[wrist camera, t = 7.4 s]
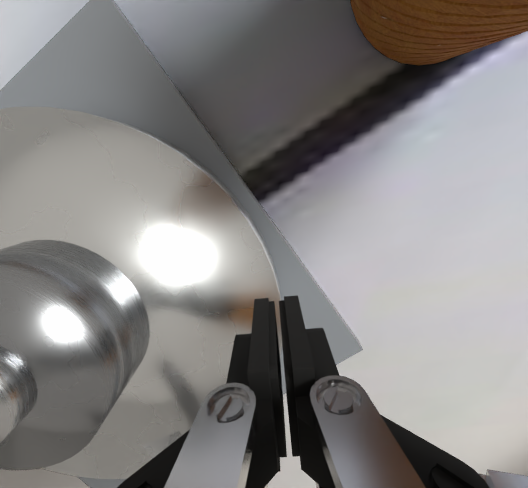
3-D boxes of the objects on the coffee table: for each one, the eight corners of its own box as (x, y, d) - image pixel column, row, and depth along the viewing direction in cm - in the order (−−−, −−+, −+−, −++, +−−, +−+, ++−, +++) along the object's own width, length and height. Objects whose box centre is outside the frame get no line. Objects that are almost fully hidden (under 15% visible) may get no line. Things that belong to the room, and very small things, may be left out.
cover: (66, 416, 14) (-27, 533, 9) (-61, 302, 12) (-245, 380, 8) (184, 341, 12) (140, 437, 8) (60, 202, 11) (-80, 229, 6)
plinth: (108, 482, 19) (101, 496, 18) (-154, 262, 14) (-177, 268, 14) (358, 340, 15) (362, 349, 14) (113, 0, 11) (102, -12, 10)
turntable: (-183, 230, 13) (-837, 330, 5) (154, 22, 10) (-153, -358, 3) (115, 545, 18) (11, 806, 11) (375, 459, 16) (468, 719, 9)
